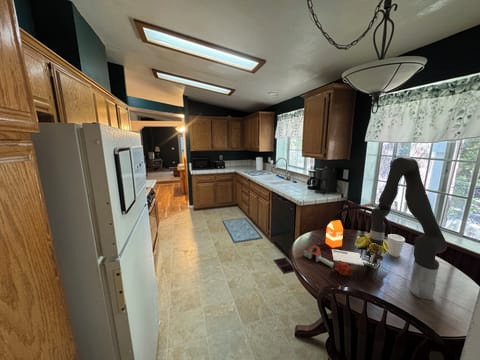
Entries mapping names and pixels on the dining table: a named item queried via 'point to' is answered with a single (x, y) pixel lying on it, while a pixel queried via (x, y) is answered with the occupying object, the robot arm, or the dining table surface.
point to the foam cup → (395, 244)
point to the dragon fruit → (343, 268)
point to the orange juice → (334, 234)
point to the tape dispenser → (317, 255)
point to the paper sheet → (346, 257)
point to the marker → (372, 259)
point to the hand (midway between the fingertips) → (373, 260)
